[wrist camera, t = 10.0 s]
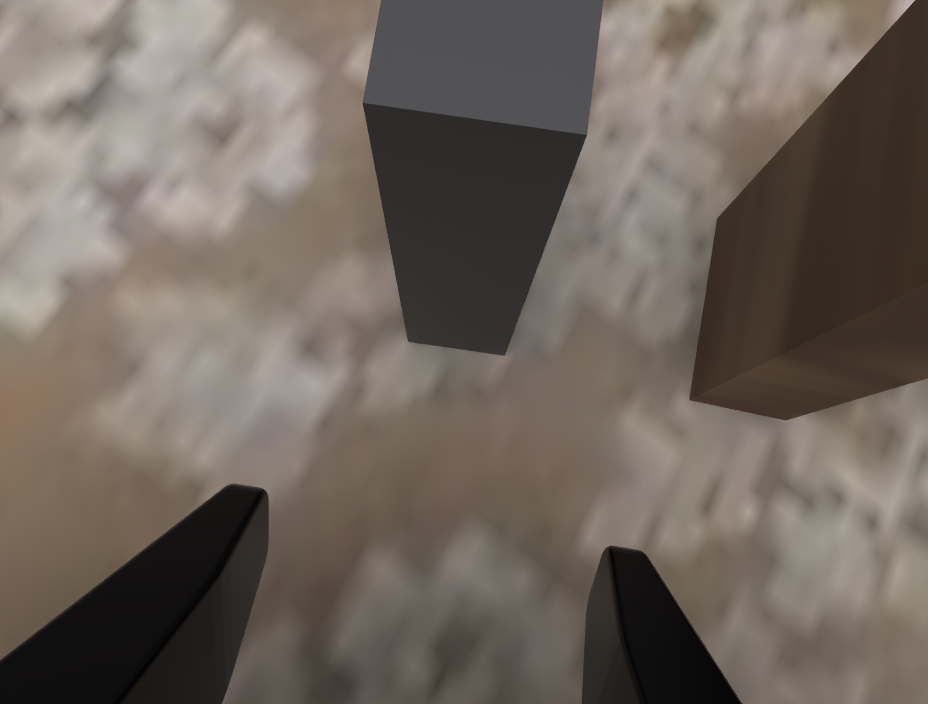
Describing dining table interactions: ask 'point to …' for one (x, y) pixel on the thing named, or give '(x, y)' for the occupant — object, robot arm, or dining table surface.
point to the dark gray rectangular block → (475, 152)
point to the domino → (829, 249)
